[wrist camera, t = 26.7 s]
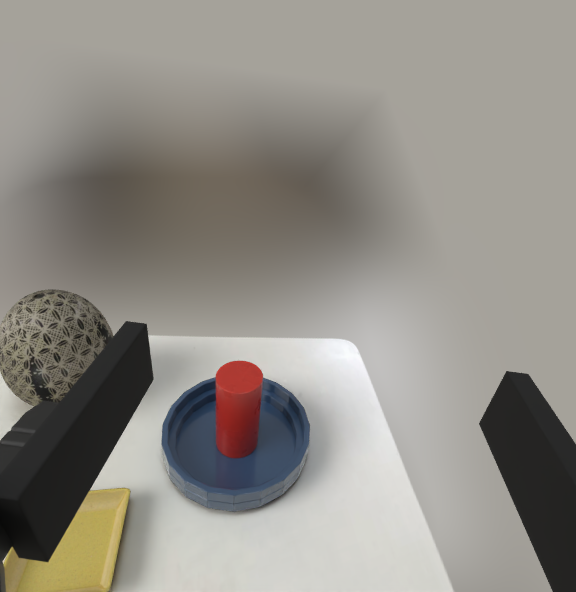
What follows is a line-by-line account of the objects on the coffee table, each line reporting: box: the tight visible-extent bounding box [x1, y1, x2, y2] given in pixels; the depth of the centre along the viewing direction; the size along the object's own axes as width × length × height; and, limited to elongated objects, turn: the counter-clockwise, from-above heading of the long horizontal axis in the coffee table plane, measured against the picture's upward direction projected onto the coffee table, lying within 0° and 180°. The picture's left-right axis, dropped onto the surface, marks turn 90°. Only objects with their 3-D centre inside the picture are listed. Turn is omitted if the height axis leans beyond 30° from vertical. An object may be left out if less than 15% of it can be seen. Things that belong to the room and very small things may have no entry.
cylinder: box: [216, 361, 263, 458], centre depth 41 cm, size 5×5×10 cm
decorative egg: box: [0, 290, 114, 406], centre depth 44 cm, size 12×12×15 cm
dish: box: [162, 377, 310, 511], centre depth 43 cm, size 16×16×4 cm
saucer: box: [3, 488, 130, 592], centre depth 32 cm, size 9×9×2 cm
